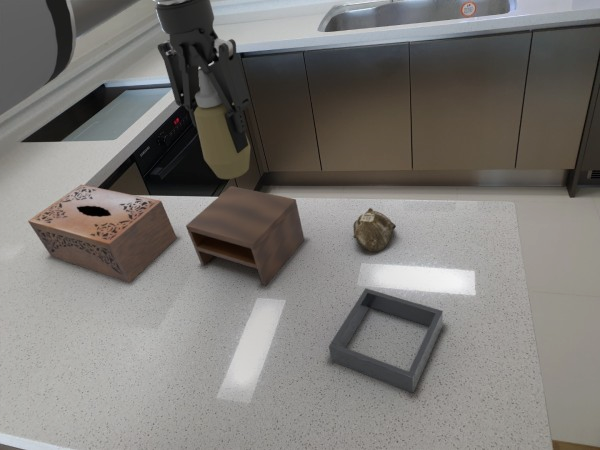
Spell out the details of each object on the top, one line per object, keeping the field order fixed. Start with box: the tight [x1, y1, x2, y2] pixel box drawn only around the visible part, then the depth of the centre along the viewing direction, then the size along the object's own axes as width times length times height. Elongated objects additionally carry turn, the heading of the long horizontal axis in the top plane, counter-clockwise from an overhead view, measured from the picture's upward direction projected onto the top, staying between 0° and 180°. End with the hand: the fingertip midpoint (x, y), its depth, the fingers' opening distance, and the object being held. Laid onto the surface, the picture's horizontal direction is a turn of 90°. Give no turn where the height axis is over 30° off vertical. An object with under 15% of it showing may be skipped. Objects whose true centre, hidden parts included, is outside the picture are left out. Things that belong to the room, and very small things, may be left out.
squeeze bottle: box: [194, 67, 251, 180], centre depth 74 cm, size 8×8×18 cm
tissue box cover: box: [27, 184, 178, 283], centre depth 99 cm, size 26×14×10 cm, turn 61°
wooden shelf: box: [185, 185, 305, 287], centre depth 89 cm, size 14×16×10 cm
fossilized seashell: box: [352, 207, 397, 252], centre depth 88 cm, size 8×7×10 cm
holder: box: [328, 287, 444, 394], centre depth 68 cm, size 13×13×4 cm
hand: (225, 146), depth 77 cm, fingers closed on squeeze bottle, 6 cm apart
